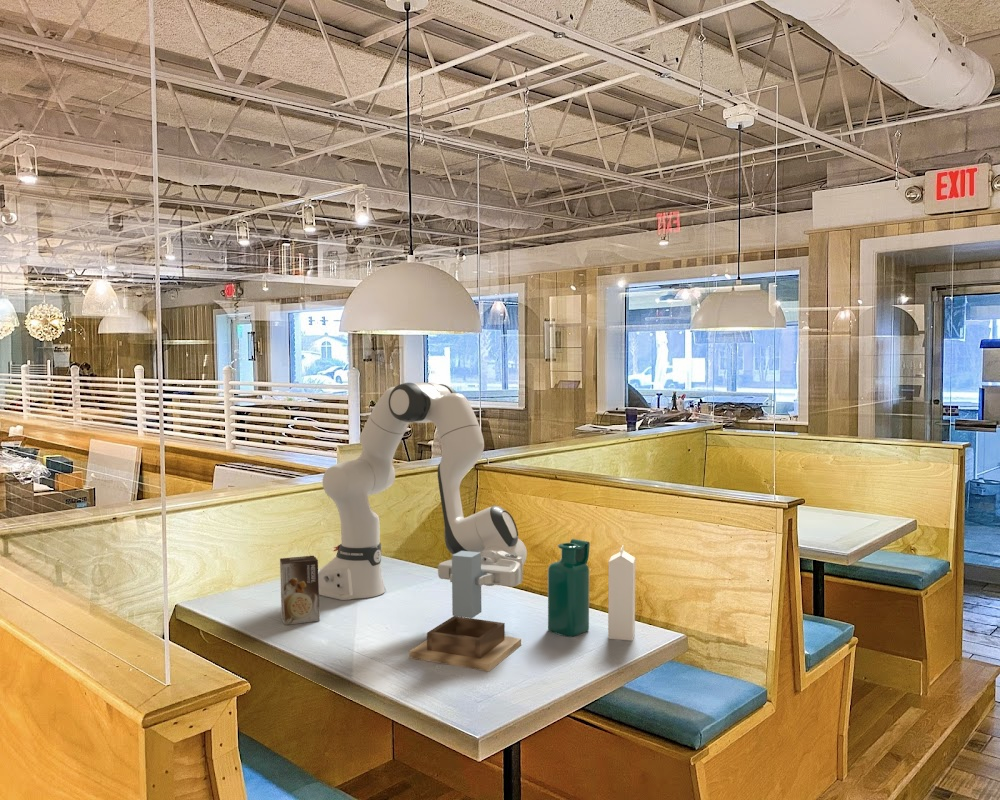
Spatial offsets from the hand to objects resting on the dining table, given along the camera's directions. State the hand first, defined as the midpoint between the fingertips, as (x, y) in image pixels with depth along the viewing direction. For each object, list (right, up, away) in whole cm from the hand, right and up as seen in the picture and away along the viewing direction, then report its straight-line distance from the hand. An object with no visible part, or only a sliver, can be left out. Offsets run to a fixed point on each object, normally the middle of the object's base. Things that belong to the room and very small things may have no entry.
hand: (465, 580), depth 185 cm
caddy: (0, -17, +2) cm, 17 cm away
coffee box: (-44, -16, +25) cm, 53 cm away
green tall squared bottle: (+26, -16, +17) cm, 35 cm away
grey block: (0, -8, +1) cm, 8 cm away
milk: (+38, -16, +12) cm, 43 cm away
